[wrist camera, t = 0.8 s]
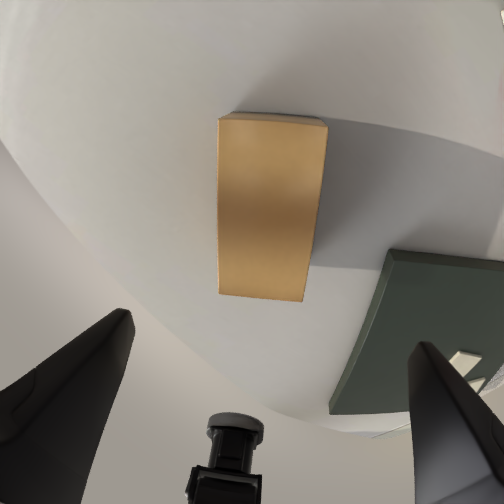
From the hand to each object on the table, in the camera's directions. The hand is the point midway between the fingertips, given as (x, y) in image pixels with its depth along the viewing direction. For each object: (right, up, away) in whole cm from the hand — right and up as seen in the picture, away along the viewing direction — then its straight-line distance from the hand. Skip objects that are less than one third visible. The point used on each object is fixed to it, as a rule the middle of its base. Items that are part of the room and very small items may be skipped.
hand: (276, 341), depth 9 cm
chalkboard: (+18, -7, +16) cm, 25 cm away
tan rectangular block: (0, +6, +10) cm, 12 cm away
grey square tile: (+20, -9, +15) cm, 26 cm away
